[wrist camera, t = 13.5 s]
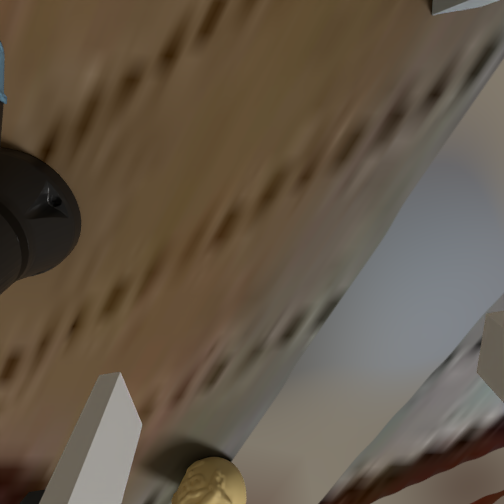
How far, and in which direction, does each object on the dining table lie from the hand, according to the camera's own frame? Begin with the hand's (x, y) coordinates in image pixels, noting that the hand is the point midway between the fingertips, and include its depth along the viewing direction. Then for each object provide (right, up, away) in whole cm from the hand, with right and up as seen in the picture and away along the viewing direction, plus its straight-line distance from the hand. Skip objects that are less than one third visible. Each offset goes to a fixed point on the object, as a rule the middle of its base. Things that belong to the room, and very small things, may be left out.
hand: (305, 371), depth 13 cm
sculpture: (-9, -35, +51) cm, 63 cm away
